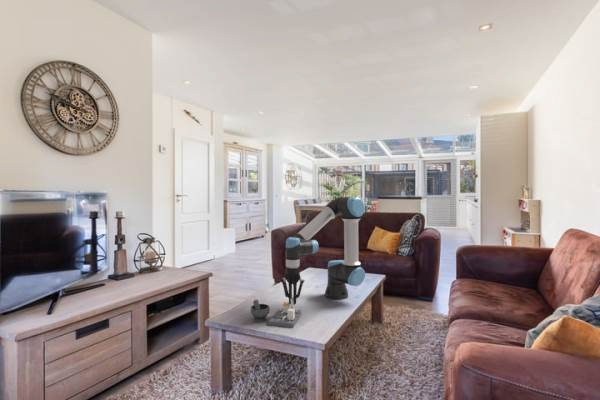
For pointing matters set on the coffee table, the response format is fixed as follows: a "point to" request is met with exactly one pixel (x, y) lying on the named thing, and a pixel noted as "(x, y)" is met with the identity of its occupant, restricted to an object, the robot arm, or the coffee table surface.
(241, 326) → the coffee table surface
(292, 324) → the console
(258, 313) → the mortar and pestle
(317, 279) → the coffee table surface
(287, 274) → the robot arm
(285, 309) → the fader
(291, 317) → the fader
